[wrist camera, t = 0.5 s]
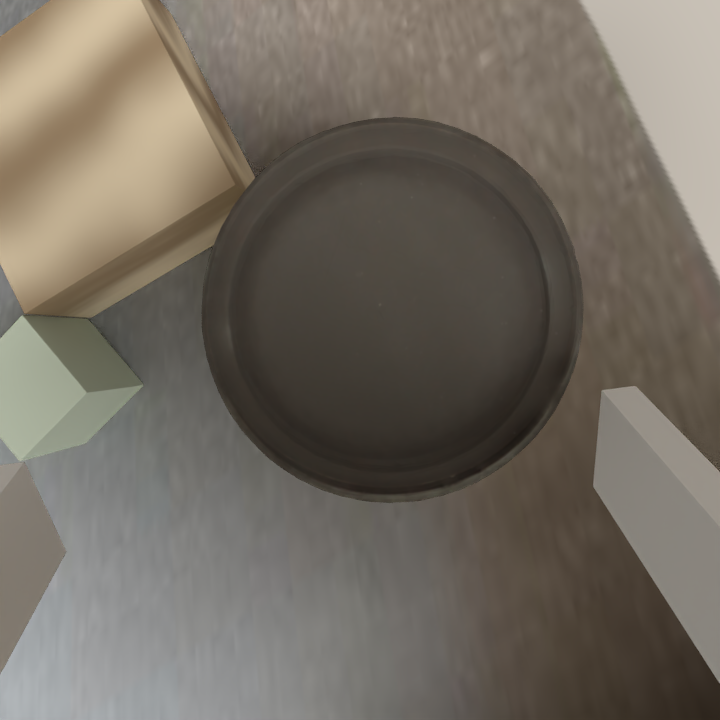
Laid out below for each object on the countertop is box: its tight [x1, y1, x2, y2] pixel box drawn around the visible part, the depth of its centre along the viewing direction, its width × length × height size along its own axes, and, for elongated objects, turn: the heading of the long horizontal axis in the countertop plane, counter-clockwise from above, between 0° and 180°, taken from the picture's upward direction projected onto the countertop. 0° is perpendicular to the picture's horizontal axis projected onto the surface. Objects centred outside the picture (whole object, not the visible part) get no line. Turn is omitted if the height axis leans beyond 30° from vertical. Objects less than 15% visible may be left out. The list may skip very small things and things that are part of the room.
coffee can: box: [202, 117, 583, 503], centre depth 22 cm, size 10×10×14 cm
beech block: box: [0, 0, 255, 318], centre depth 29 cm, size 12×12×5 cm
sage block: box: [0, 315, 144, 461], centre depth 30 cm, size 5×5×5 cm
